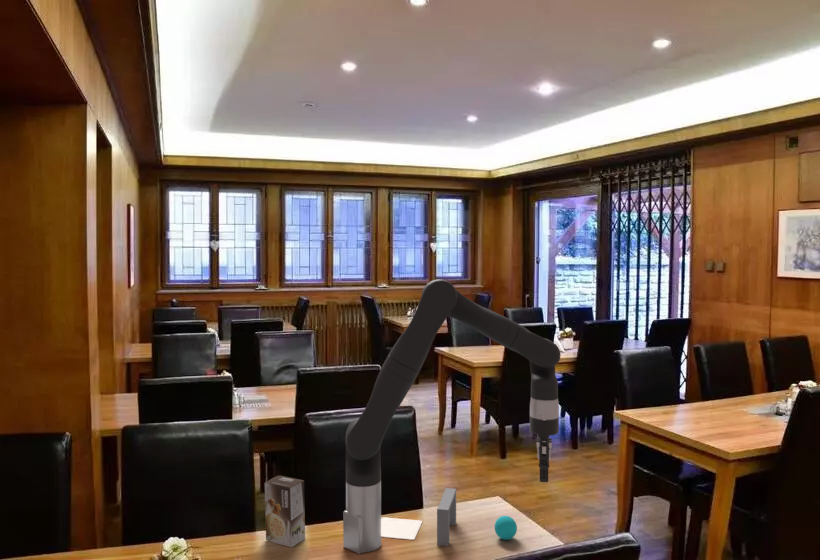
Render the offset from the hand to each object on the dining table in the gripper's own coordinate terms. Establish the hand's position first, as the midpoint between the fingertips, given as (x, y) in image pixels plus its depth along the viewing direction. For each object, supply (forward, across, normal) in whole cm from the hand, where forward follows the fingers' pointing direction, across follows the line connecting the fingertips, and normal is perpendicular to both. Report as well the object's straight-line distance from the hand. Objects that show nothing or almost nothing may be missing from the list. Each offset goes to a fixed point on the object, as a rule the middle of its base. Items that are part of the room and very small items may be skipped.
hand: (543, 477), depth 165 cm
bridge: (+18, 0, -26) cm, 31 cm away
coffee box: (+18, +13, -68) cm, 71 cm away
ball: (+15, 0, -10) cm, 18 cm away
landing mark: (+18, 0, -40) cm, 44 cm away
